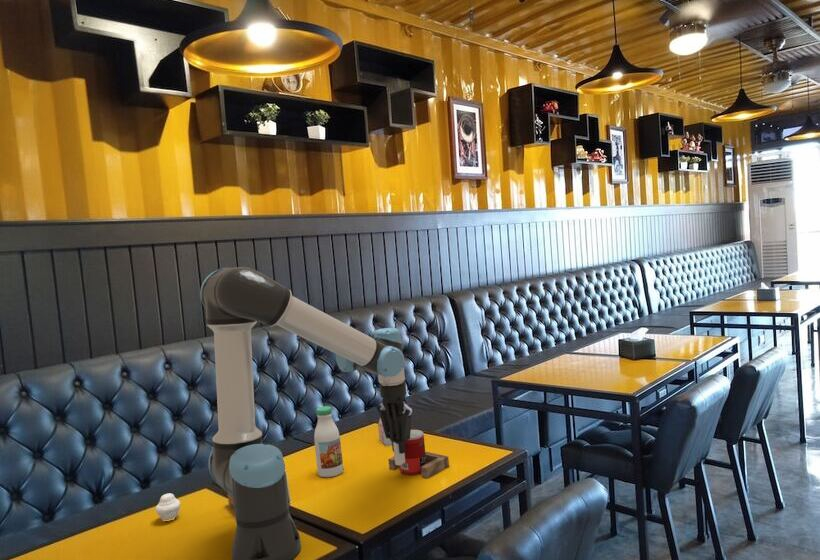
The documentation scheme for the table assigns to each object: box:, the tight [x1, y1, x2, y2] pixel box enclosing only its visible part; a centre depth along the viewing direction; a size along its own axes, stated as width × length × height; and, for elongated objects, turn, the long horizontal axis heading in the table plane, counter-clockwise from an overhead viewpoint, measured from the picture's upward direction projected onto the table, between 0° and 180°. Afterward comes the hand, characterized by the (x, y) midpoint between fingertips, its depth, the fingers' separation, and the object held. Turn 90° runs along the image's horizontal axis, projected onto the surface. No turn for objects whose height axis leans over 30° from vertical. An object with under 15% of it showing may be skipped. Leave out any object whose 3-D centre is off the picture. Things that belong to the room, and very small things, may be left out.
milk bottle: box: [313, 405, 344, 478], centre depth 177 cm, size 8×8×20 cm
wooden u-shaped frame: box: [388, 451, 450, 479], centre depth 175 cm, size 10×15×3 cm, turn 48°
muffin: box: [155, 492, 181, 521], centre depth 156 cm, size 6×6×7 cm
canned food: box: [399, 429, 426, 476], centre depth 173 cm, size 8×8×11 cm
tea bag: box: [377, 418, 392, 447], centre depth 200 cm, size 4×7×10 cm, turn 22°
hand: (400, 463), depth 169 cm, fingers closed
